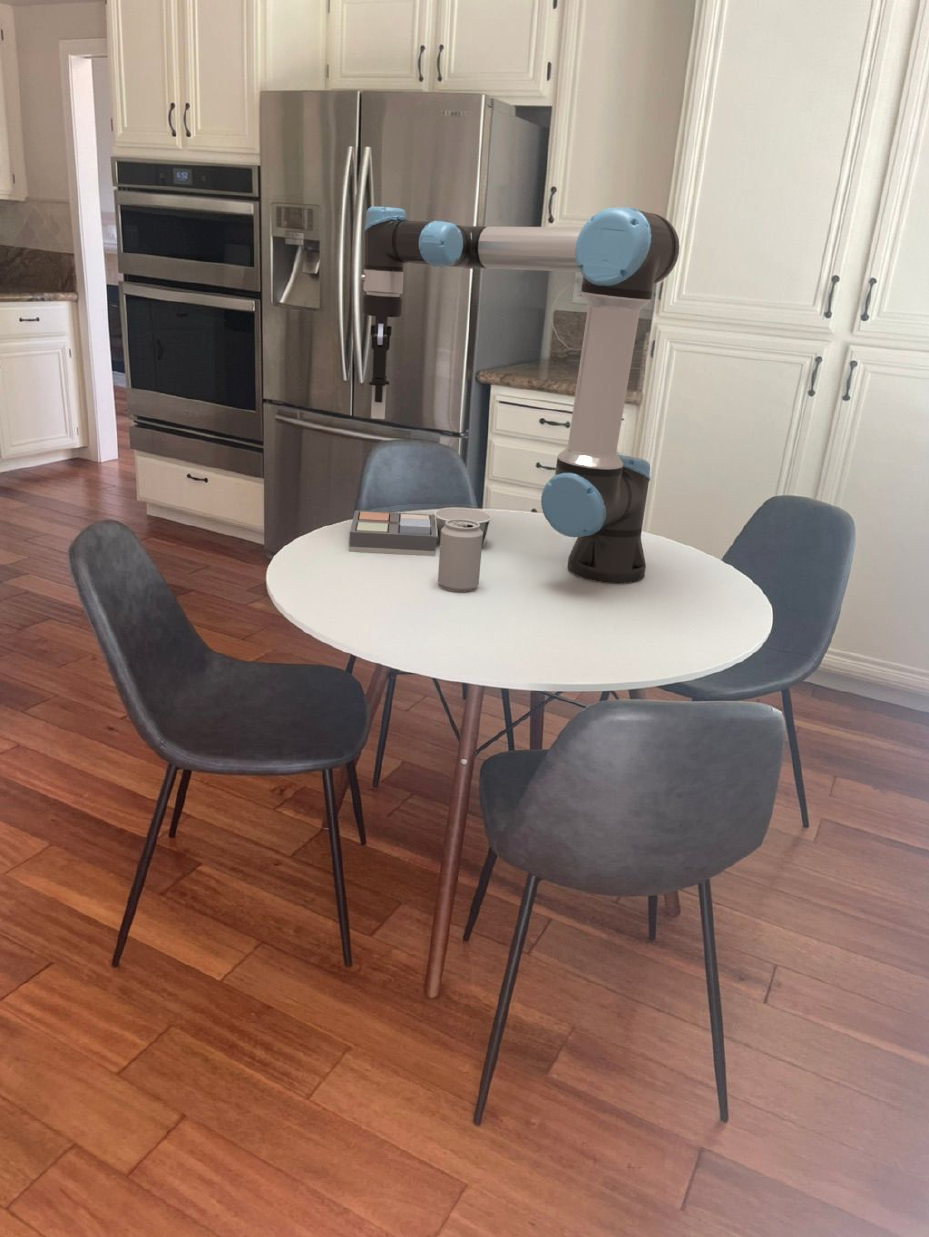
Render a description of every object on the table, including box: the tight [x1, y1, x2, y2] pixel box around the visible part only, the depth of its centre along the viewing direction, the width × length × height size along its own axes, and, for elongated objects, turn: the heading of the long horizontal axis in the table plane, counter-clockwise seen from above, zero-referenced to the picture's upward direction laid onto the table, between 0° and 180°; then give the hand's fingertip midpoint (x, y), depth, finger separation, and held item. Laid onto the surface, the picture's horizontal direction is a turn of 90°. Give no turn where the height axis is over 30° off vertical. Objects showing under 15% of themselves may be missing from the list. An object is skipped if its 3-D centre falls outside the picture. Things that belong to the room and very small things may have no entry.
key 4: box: [401, 513, 430, 519], centre depth 198 cm, size 6×6×2 cm
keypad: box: [348, 510, 437, 557], centre depth 194 cm, size 17×17×4 cm
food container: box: [433, 506, 493, 549], centre depth 195 cm, size 12×12×6 cm
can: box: [437, 519, 483, 593], centre depth 168 cm, size 8×8×12 cm
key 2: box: [359, 511, 389, 521], centre depth 197 cm, size 6×6×2 cm
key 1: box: [357, 522, 388, 533], centre depth 189 cm, size 6×6×2 cm
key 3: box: [400, 518, 430, 535], centre depth 189 cm, size 6×6×2 cm
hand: (377, 418), depth 189 cm, fingers closed
